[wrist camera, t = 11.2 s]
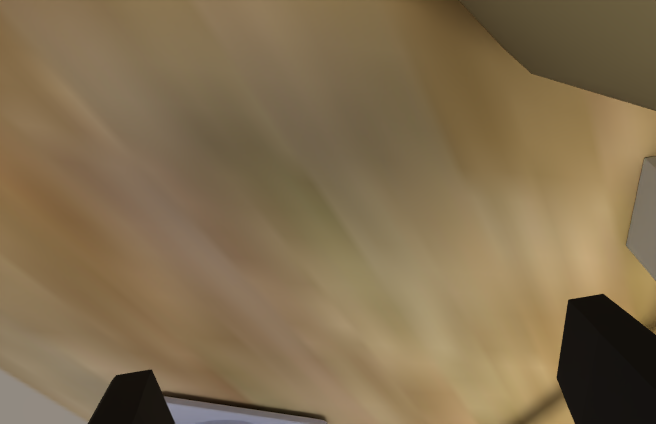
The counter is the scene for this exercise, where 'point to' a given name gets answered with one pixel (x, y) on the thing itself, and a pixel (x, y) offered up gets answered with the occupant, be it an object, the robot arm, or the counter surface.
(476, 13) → the squeeze bottle
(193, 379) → the counter surface
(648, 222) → the grey u-shaped block
